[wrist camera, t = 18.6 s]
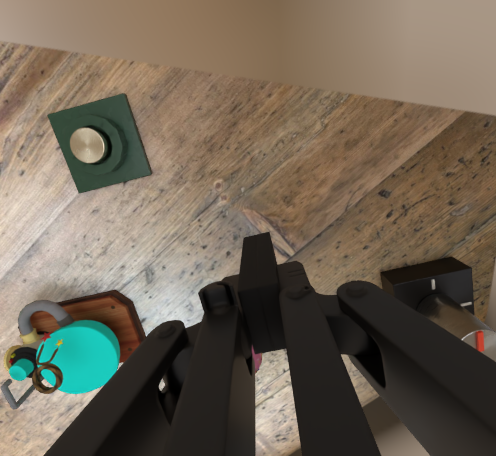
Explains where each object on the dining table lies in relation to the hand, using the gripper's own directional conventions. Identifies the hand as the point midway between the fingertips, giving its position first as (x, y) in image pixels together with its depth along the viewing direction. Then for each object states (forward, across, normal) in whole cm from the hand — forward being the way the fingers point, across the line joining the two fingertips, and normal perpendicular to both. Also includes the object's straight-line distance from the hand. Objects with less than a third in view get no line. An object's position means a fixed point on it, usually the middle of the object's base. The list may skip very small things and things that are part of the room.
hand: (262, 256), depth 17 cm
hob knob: (+20, +19, -20) cm, 34 cm away
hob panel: (+24, +19, -20) cm, 37 cm away
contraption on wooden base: (+23, -31, -13) cm, 41 cm away
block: (+23, -18, +11) cm, 31 cm away
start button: (+21, -18, +11) cm, 30 cm away
